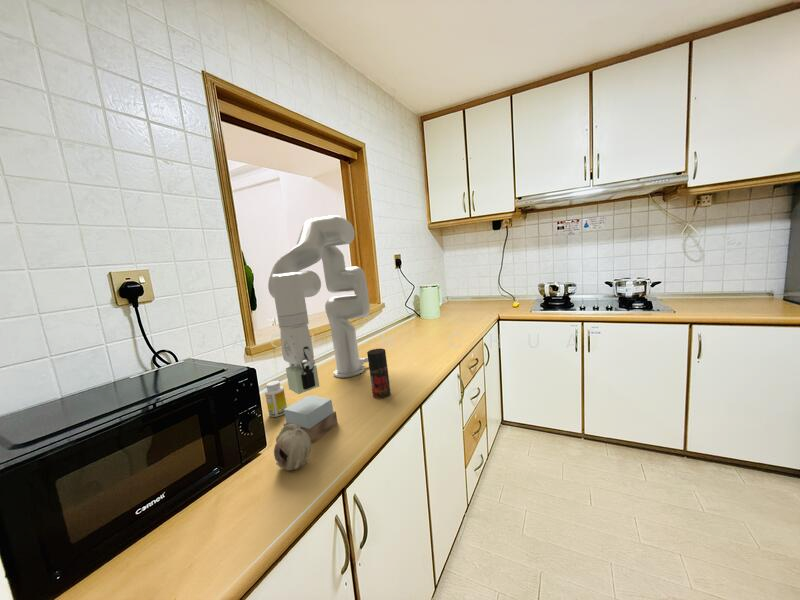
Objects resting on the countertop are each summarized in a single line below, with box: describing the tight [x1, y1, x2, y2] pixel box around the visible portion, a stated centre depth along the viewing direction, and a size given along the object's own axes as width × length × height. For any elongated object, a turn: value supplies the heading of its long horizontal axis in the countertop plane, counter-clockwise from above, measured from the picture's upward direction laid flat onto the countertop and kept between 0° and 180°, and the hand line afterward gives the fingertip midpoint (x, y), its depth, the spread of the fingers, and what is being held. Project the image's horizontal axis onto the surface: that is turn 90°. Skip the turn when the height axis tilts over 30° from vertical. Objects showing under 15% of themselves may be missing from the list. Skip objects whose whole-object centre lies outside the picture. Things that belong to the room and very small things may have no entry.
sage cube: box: [285, 364, 320, 395], centre depth 88 cm, size 6×6×6 cm
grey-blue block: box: [284, 394, 334, 429], centre depth 90 cm, size 9×9×4 cm
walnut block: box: [283, 410, 338, 444], centre depth 90 cm, size 10×10×4 cm
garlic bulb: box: [273, 424, 312, 472], centre depth 75 cm, size 10×8×10 cm
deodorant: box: [366, 348, 392, 400], centre depth 107 cm, size 6×6×15 cm
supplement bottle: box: [264, 380, 288, 418], centre depth 103 cm, size 6×6×10 cm
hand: (303, 384), depth 89 cm, fingers closed on sage cube, 6 cm apart
